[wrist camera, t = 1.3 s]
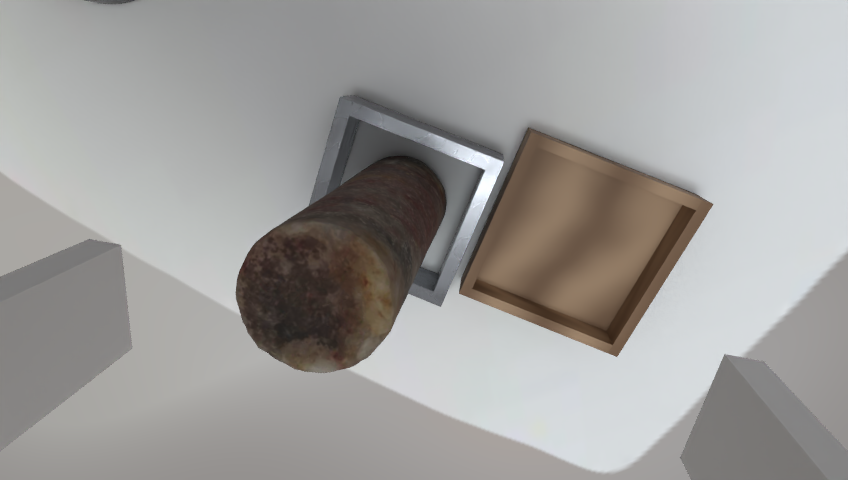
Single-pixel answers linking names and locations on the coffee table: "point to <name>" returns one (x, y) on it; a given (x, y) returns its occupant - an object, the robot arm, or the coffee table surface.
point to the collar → (490, 161)
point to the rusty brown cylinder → (341, 267)
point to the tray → (579, 242)
